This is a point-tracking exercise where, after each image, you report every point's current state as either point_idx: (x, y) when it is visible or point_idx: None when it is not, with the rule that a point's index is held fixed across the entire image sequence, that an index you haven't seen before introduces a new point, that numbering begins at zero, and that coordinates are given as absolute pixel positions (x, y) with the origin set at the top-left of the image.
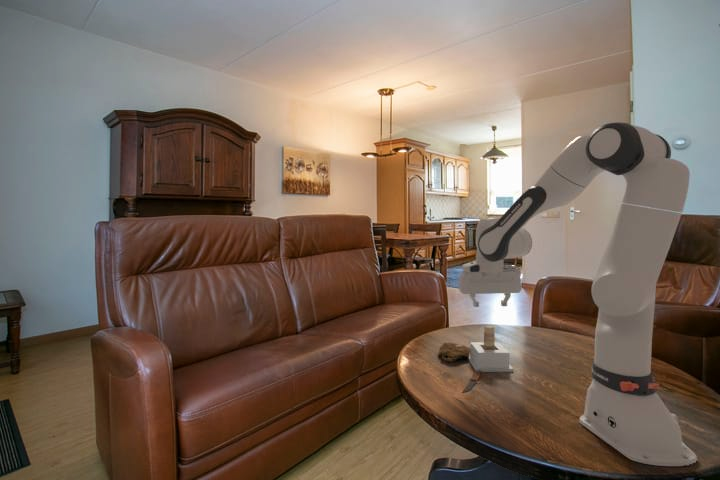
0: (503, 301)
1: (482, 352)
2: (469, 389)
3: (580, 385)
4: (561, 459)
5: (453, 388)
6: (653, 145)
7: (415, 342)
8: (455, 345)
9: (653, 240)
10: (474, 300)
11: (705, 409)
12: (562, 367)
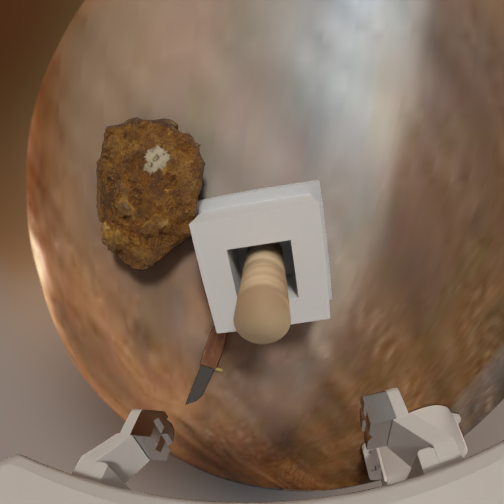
0: (372, 448)
1: (230, 329)
2: (199, 395)
3: (449, 336)
4: (299, 487)
5: (167, 390)
6: None
7: (38, 101)
8: (142, 162)
9: None
10: (133, 466)
11: None
12: (469, 238)
